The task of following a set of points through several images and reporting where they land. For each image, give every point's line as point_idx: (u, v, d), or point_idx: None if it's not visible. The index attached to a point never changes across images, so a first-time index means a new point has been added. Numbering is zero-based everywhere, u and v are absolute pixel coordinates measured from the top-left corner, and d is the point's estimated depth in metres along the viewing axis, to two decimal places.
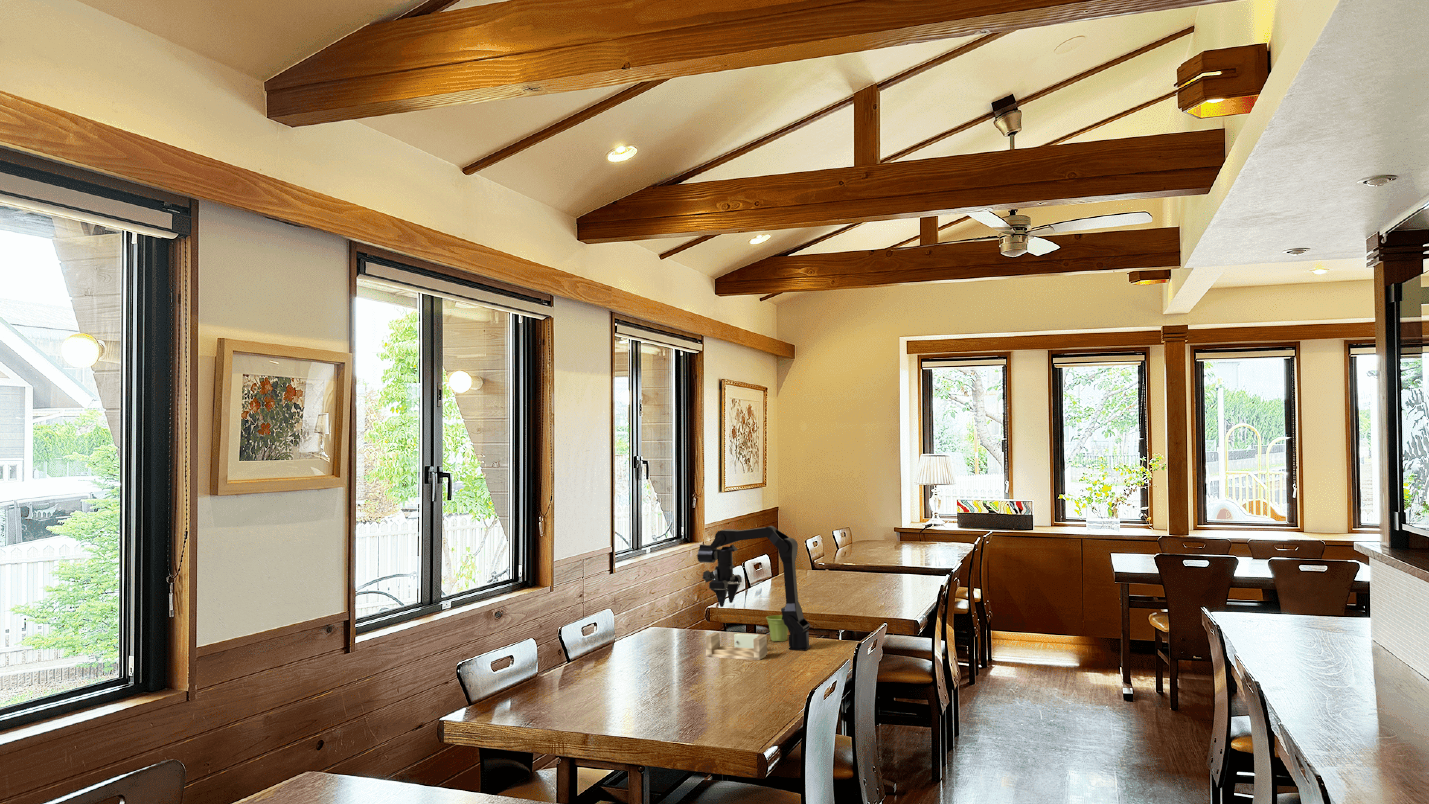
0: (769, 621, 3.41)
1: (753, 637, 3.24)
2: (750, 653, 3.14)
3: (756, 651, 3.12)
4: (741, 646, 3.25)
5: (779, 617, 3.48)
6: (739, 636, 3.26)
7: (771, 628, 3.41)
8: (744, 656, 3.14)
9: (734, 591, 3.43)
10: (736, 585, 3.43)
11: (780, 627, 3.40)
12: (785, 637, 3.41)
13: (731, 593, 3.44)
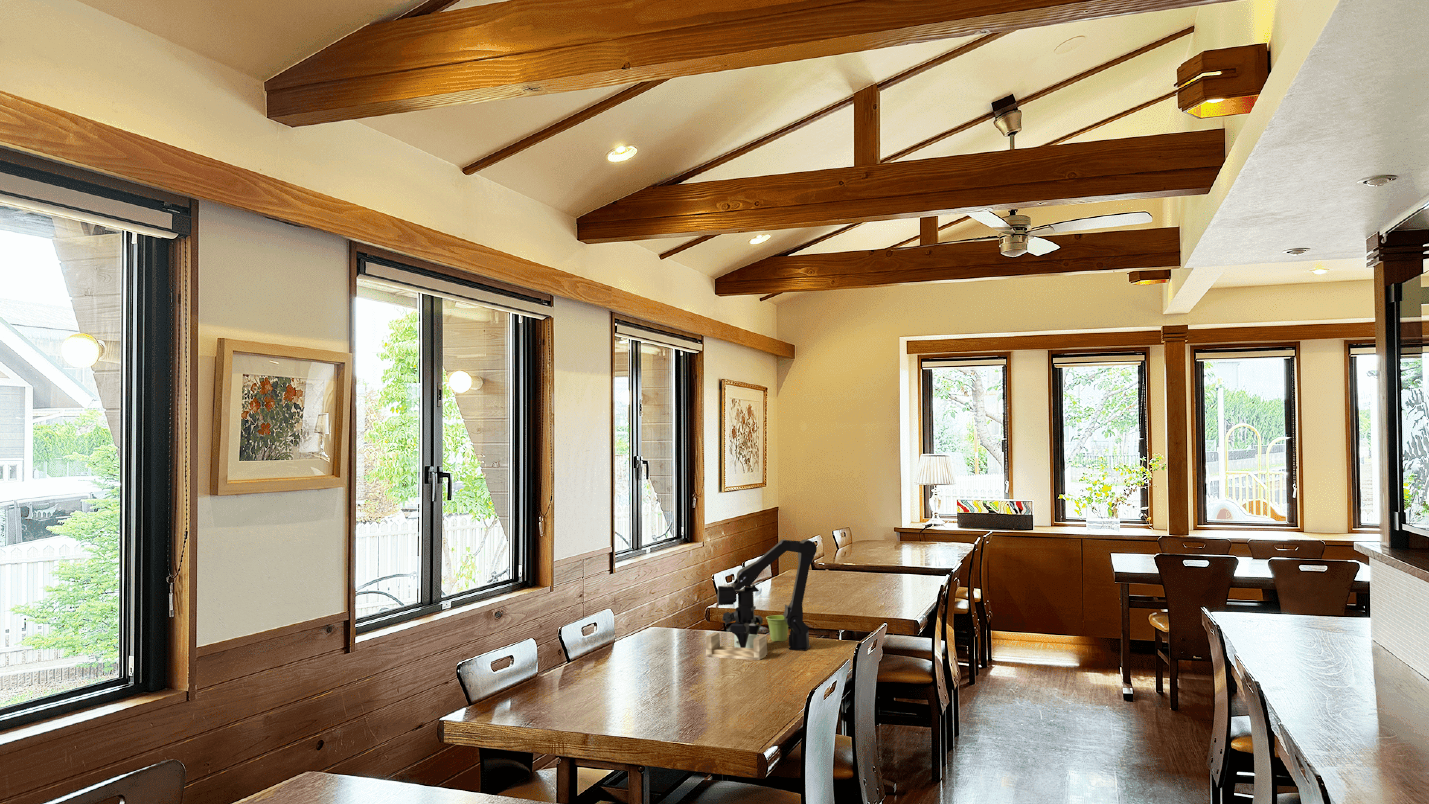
0: (769, 621, 3.41)
1: (753, 637, 3.24)
2: (750, 653, 3.14)
3: (756, 651, 3.12)
4: None
5: (779, 617, 3.48)
6: None
7: (771, 628, 3.41)
8: (744, 656, 3.14)
9: (754, 633, 3.30)
10: (757, 627, 3.30)
11: (780, 627, 3.40)
12: (785, 637, 3.41)
13: None
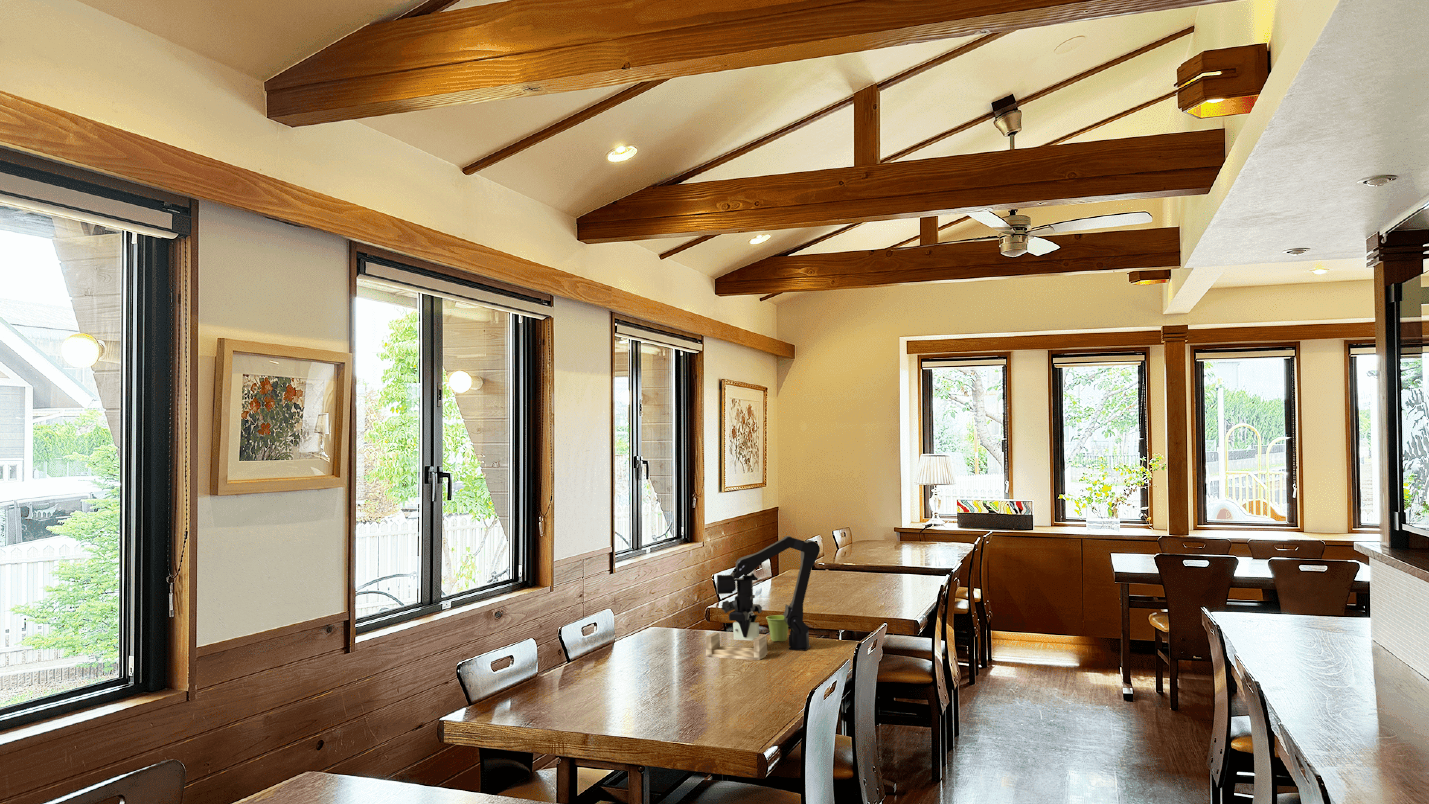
0: (769, 621, 3.41)
1: (752, 625, 3.24)
2: (750, 653, 3.14)
3: (756, 651, 3.12)
4: (740, 634, 3.26)
5: (779, 617, 3.48)
6: (738, 624, 3.26)
7: (771, 628, 3.41)
8: (744, 656, 3.14)
9: None
10: (753, 617, 3.27)
11: (780, 627, 3.40)
12: (785, 637, 3.41)
13: None
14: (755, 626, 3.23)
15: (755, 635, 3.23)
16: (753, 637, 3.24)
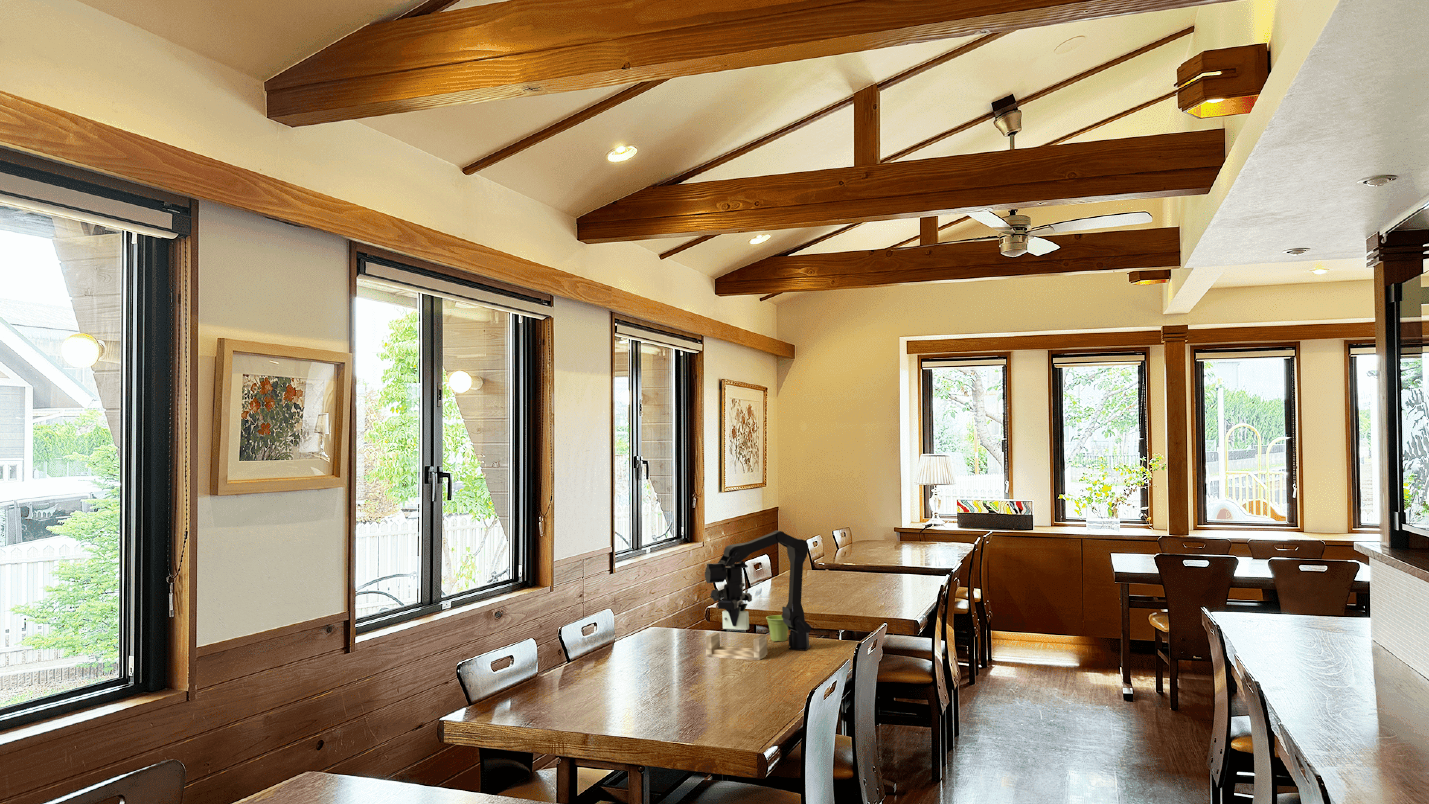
0: (769, 621, 3.41)
1: (742, 614, 3.17)
2: (750, 653, 3.14)
3: (756, 651, 3.12)
4: (729, 623, 3.19)
5: (779, 617, 3.48)
6: (727, 612, 3.19)
7: (771, 628, 3.41)
8: (744, 656, 3.14)
9: None
10: (743, 606, 3.21)
11: (780, 627, 3.40)
12: (785, 637, 3.41)
13: None
14: (744, 615, 3.17)
15: (744, 624, 3.17)
16: (742, 626, 3.17)
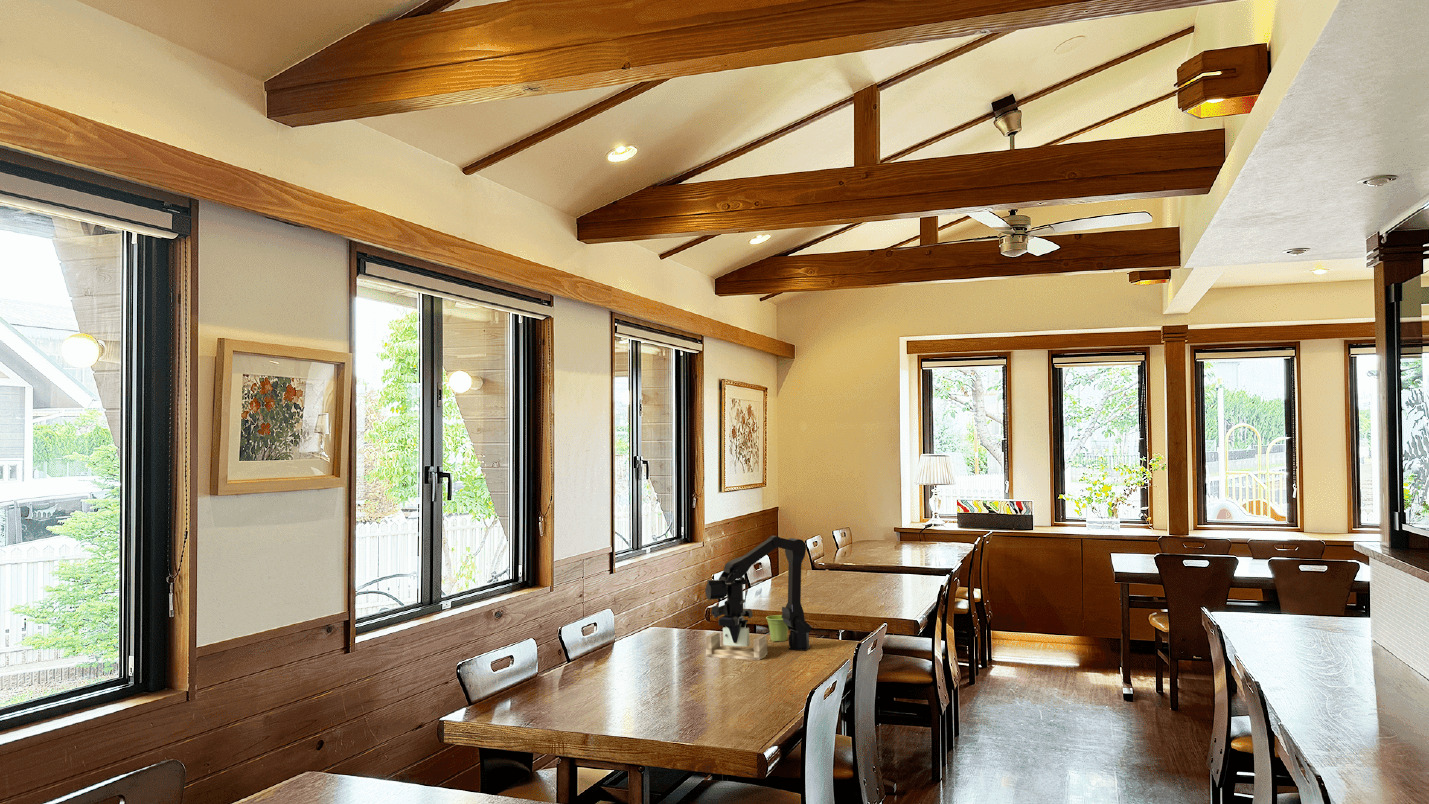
0: (769, 621, 3.41)
1: (742, 630, 3.17)
2: (750, 653, 3.14)
3: (756, 651, 3.12)
4: (729, 639, 3.19)
5: (779, 617, 3.48)
6: (727, 629, 3.19)
7: (771, 628, 3.41)
8: (744, 656, 3.14)
9: None
10: (743, 622, 3.20)
11: (780, 627, 3.40)
12: (785, 637, 3.41)
13: None
14: (745, 631, 3.17)
15: (745, 640, 3.16)
16: (743, 643, 3.17)
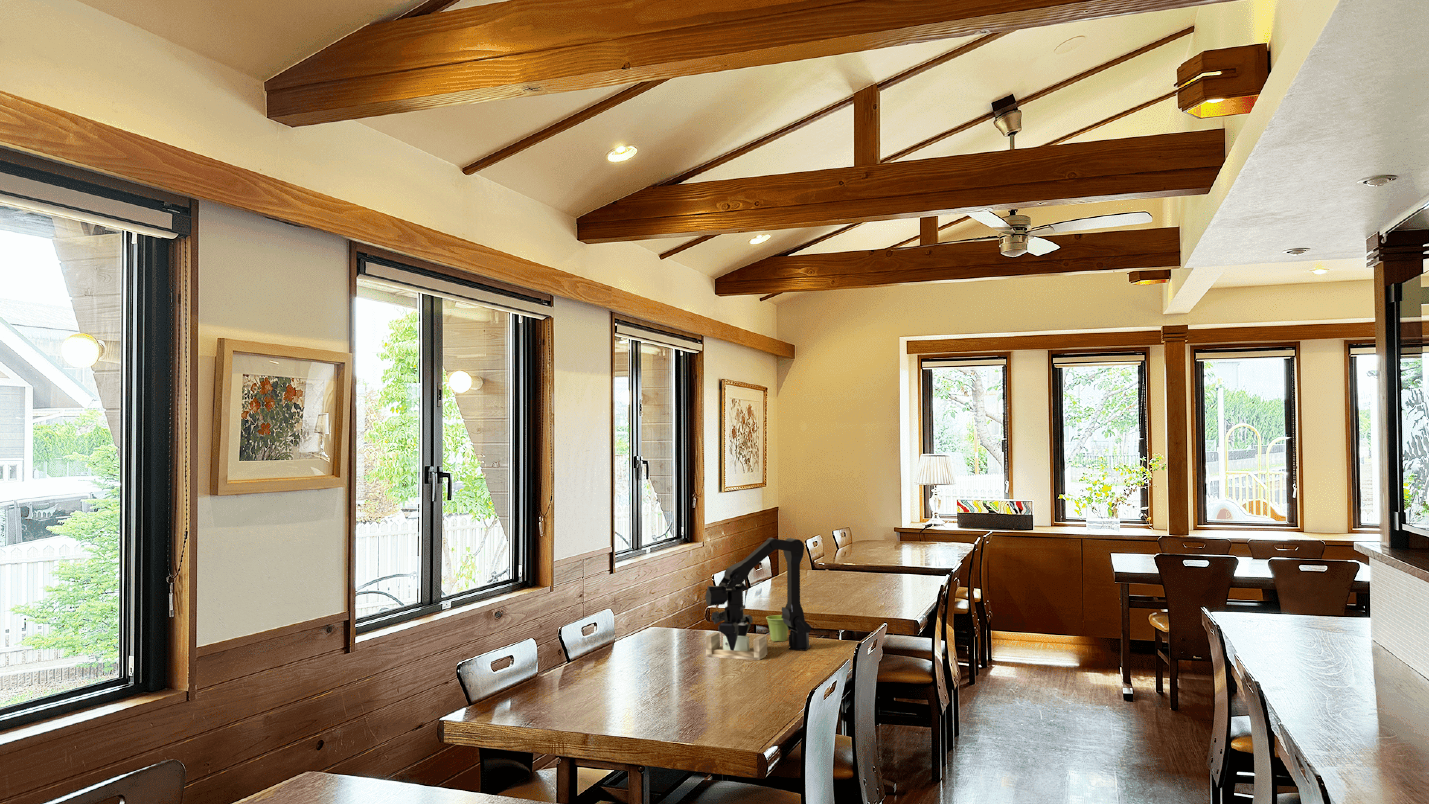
0: (769, 621, 3.41)
1: (742, 639, 3.17)
2: (750, 653, 3.14)
3: (756, 651, 3.12)
4: None
5: (779, 617, 3.48)
6: None
7: (771, 628, 3.41)
8: (744, 656, 3.14)
9: (744, 633, 3.23)
10: (746, 626, 3.23)
11: (780, 627, 3.40)
12: (785, 637, 3.41)
13: (741, 635, 3.23)
14: (745, 640, 3.16)
15: (745, 649, 3.16)
16: None
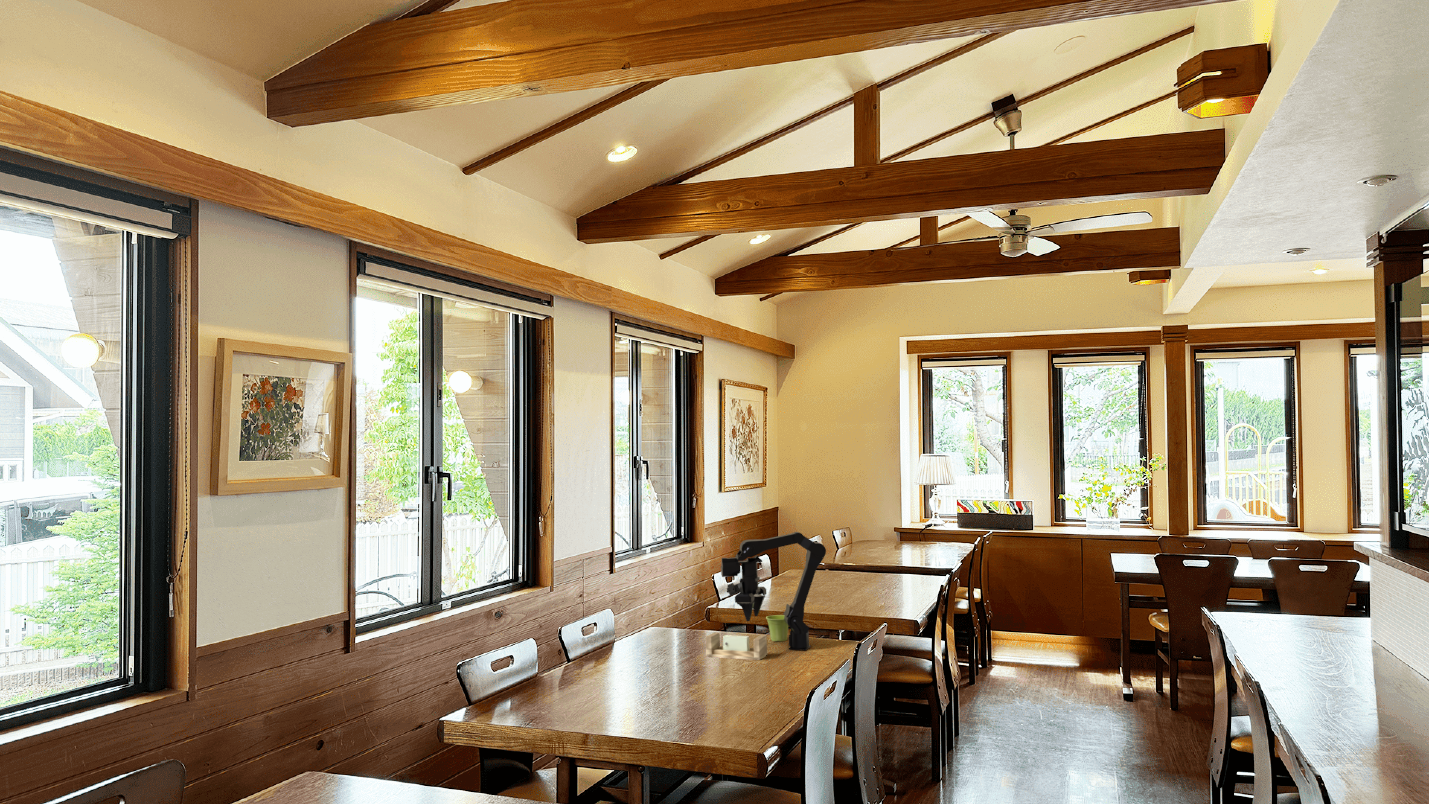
0: (769, 621, 3.41)
1: (742, 639, 3.17)
2: (750, 653, 3.14)
3: (756, 651, 3.12)
4: (730, 648, 3.18)
5: (779, 617, 3.48)
6: (728, 637, 3.19)
7: (771, 628, 3.41)
8: (744, 656, 3.14)
9: (759, 604, 3.31)
10: (761, 597, 3.31)
11: (781, 627, 3.40)
12: (785, 637, 3.41)
13: (756, 606, 3.31)
14: (745, 640, 3.16)
15: (745, 649, 3.16)
16: None
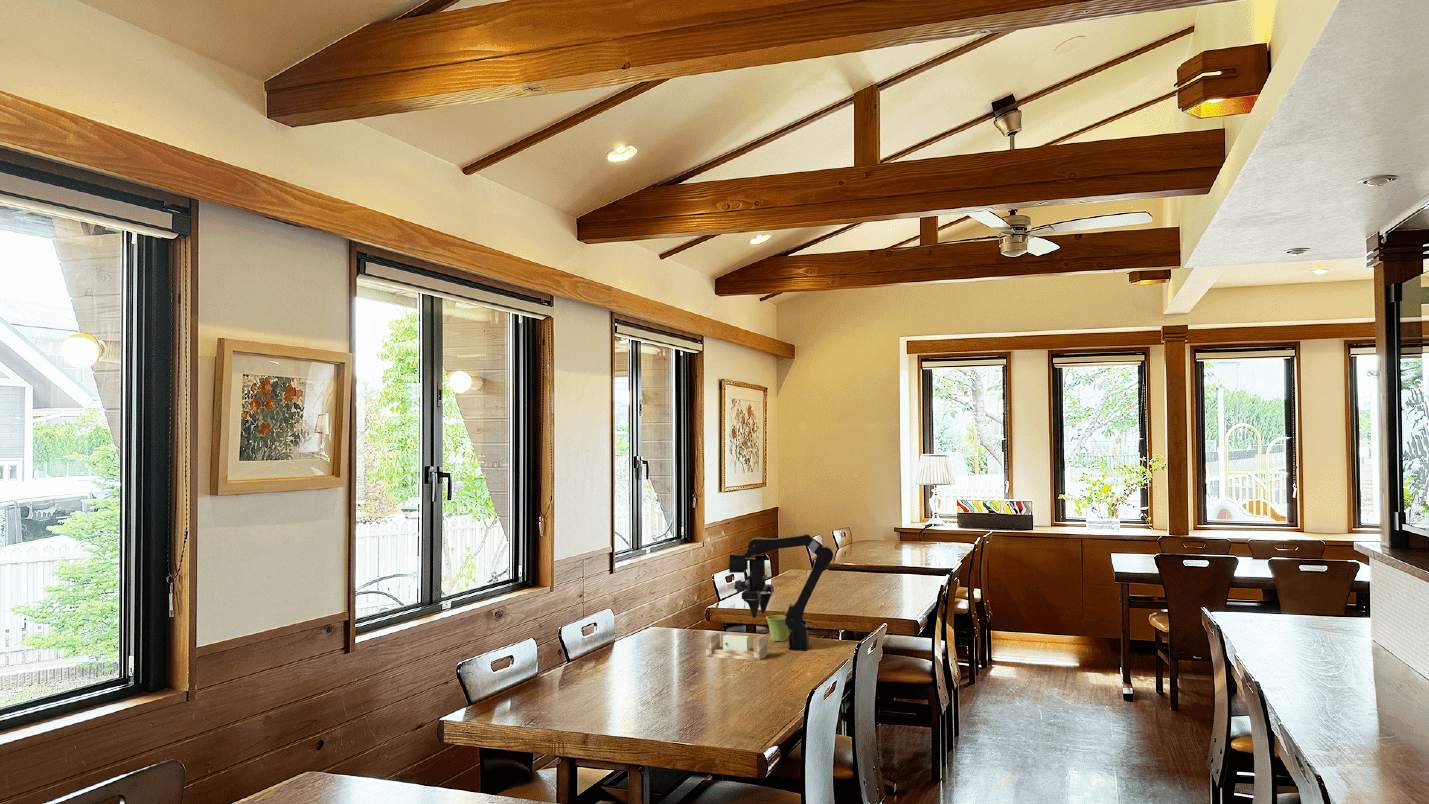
0: (769, 621, 3.41)
1: (742, 639, 3.17)
2: (750, 653, 3.14)
3: (756, 651, 3.12)
4: (730, 648, 3.18)
5: (779, 617, 3.48)
6: (728, 637, 3.19)
7: (771, 628, 3.41)
8: (744, 656, 3.14)
9: (766, 602, 3.34)
10: (768, 595, 3.34)
11: (780, 627, 3.40)
12: (785, 637, 3.41)
13: (763, 603, 3.34)
14: (745, 640, 3.16)
15: (745, 649, 3.16)
16: None
